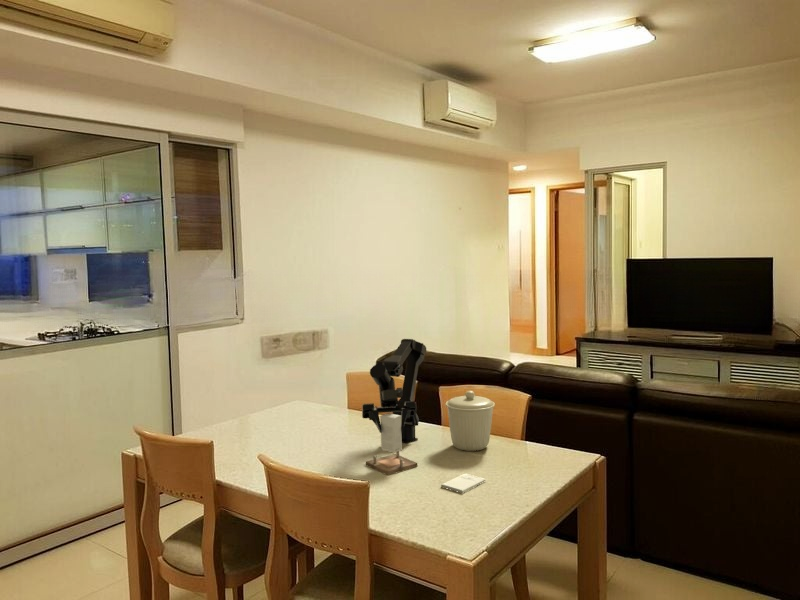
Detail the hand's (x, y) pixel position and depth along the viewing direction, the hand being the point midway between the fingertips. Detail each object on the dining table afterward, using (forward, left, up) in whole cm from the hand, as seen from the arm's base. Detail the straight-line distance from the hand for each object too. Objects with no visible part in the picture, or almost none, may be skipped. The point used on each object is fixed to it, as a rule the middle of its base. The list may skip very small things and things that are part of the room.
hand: (391, 431), depth 205 cm
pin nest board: (0, -1, -12) cm, 12 cm away
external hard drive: (-8, +27, -13) cm, 31 cm away
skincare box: (-1, -1, -7) cm, 7 cm away
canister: (-35, +1, -12) cm, 37 cm away
